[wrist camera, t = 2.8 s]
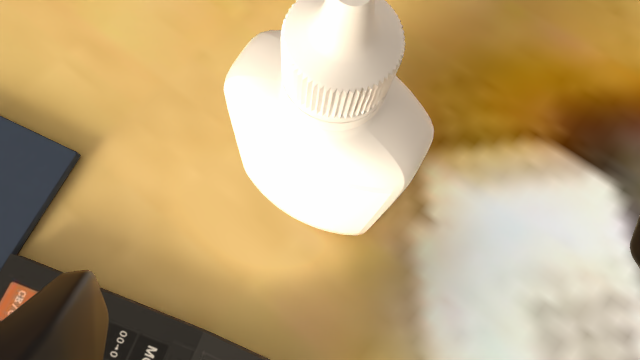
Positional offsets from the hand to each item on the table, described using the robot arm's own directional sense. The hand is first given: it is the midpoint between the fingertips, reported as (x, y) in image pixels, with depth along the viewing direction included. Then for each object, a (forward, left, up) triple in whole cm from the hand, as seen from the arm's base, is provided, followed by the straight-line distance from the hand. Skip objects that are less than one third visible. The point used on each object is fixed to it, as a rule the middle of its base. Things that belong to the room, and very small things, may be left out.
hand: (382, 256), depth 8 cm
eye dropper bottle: (+4, +2, -11) cm, 12 cm away
